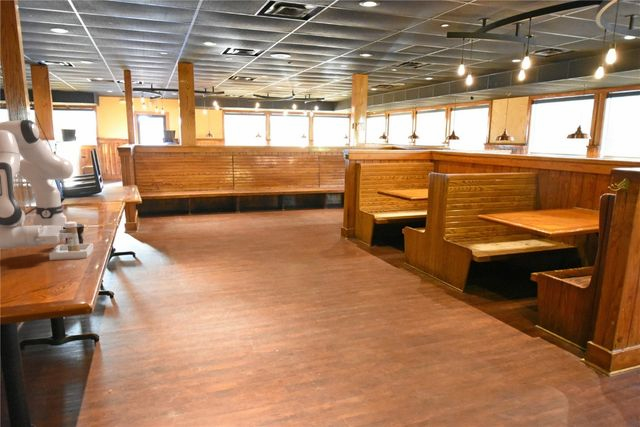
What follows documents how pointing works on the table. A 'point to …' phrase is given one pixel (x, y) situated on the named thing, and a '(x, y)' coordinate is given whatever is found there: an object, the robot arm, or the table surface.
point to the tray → (63, 253)
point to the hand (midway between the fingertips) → (73, 233)
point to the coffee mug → (80, 232)
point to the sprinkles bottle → (72, 241)
